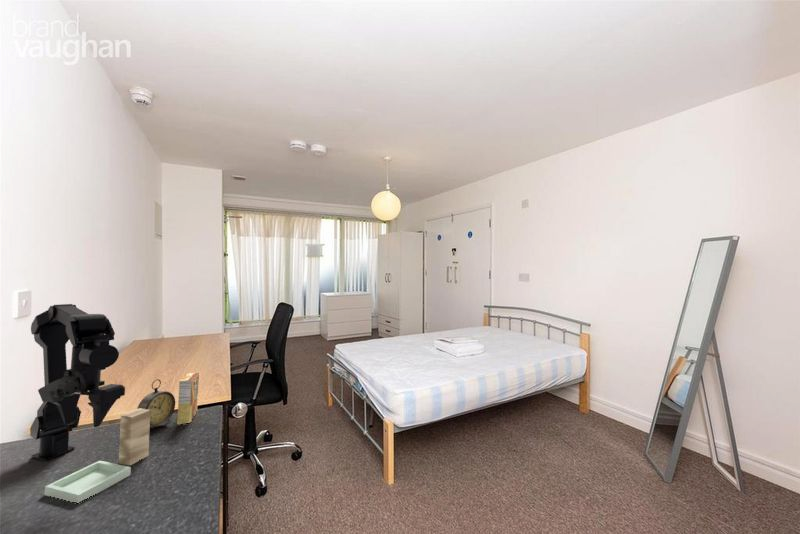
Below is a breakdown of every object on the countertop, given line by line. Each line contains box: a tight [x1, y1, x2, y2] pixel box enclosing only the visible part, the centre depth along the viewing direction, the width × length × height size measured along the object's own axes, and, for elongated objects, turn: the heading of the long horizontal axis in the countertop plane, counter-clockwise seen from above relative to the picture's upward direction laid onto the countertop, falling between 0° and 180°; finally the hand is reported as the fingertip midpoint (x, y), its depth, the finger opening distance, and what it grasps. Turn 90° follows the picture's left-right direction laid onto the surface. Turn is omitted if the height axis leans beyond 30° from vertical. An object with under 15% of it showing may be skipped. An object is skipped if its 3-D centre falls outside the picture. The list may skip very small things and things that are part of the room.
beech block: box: [118, 408, 151, 467], centre depth 89 cm, size 4×5×13 cm
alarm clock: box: [137, 378, 176, 428], centre depth 108 cm, size 11×5×16 cm, turn 168°
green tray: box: [44, 460, 132, 504], centre depth 78 cm, size 11×11×2 cm
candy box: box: [176, 372, 200, 425], centre depth 115 cm, size 9×4×15 cm, turn 19°
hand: (82, 425), depth 82 cm, fingers open, 9 cm apart
